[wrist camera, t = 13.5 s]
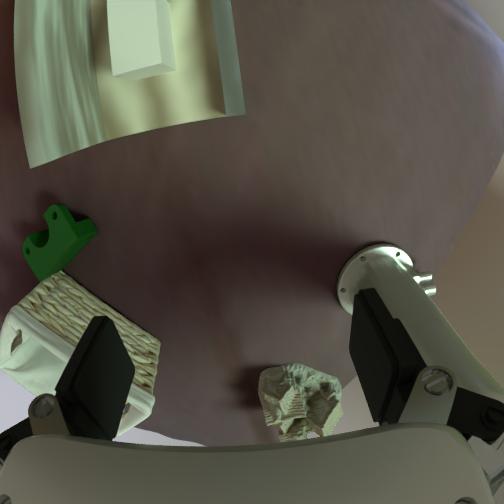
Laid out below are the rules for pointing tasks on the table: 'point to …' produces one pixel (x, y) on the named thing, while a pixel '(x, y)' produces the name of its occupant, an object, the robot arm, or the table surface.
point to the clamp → (56, 242)
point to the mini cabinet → (140, 38)
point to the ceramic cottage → (299, 401)
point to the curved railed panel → (115, 88)
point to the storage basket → (71, 342)
